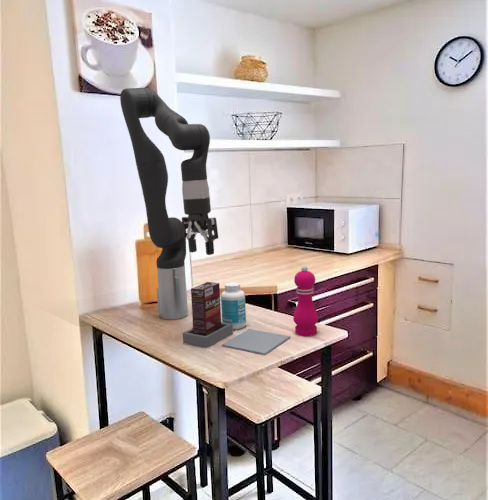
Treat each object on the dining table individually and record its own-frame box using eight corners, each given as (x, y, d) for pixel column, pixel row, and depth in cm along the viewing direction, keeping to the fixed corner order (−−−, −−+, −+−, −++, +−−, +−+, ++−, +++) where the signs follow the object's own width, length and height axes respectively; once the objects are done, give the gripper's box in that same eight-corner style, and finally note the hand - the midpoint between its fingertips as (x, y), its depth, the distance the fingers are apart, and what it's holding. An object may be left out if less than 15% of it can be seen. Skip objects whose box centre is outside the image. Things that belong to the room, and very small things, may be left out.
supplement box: (207, 344, 131) (203, 289, 128) (193, 342, 133) (189, 288, 130) (223, 334, 138) (220, 282, 136) (209, 332, 141) (206, 281, 138)
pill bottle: (243, 330, 141) (241, 287, 139) (219, 330, 142) (217, 287, 140) (248, 322, 148) (246, 281, 146) (225, 322, 150) (223, 281, 147)
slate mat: (221, 346, 129) (221, 344, 129) (249, 330, 141) (249, 328, 141) (264, 355, 122) (264, 353, 122) (290, 337, 133) (290, 336, 133)
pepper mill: (321, 335, 134) (320, 267, 131) (297, 337, 133) (295, 269, 129) (314, 327, 141) (312, 262, 138) (290, 329, 140) (288, 264, 136)
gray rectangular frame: (183, 343, 133) (182, 333, 133) (210, 329, 143) (209, 320, 143) (206, 348, 128) (205, 337, 128) (232, 333, 139) (232, 324, 138)
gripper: (171, 198, 135) (177, 253, 137) (199, 197, 124) (205, 257, 127) (193, 195, 140) (198, 249, 142) (222, 195, 129) (227, 253, 131)
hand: (201, 253), depth 134 cm, fingers open, 8 cm apart
